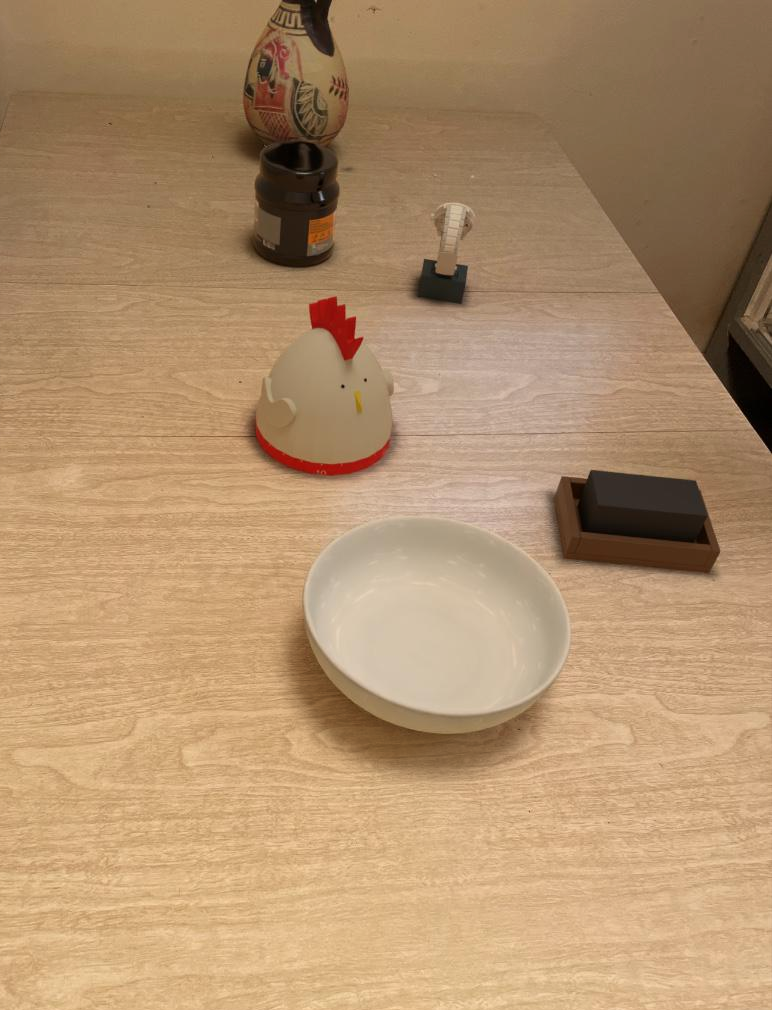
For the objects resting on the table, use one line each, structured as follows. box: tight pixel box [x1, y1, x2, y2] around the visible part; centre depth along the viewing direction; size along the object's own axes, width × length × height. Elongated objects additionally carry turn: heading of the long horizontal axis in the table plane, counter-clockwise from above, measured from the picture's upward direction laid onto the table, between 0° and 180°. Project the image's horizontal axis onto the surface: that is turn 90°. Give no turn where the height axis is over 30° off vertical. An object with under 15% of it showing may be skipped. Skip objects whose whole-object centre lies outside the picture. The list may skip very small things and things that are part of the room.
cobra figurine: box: [416, 202, 476, 305], centre depth 116 cm, size 6×8×11 cm
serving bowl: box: [301, 514, 573, 735], centre depth 77 cm, size 21×21×7 cm
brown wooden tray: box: [553, 475, 721, 574], centre depth 91 cm, size 14×9×3 cm, turn 87°
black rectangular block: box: [577, 469, 709, 543], centre depth 90 cm, size 10×5×4 cm, turn 87°
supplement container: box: [252, 141, 341, 268], centre depth 120 cm, size 10×10×12 cm
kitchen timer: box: [254, 295, 395, 476], centre depth 93 cm, size 14×14×15 cm
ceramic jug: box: [242, 0, 350, 149], centre depth 134 cm, size 17×15×30 cm
